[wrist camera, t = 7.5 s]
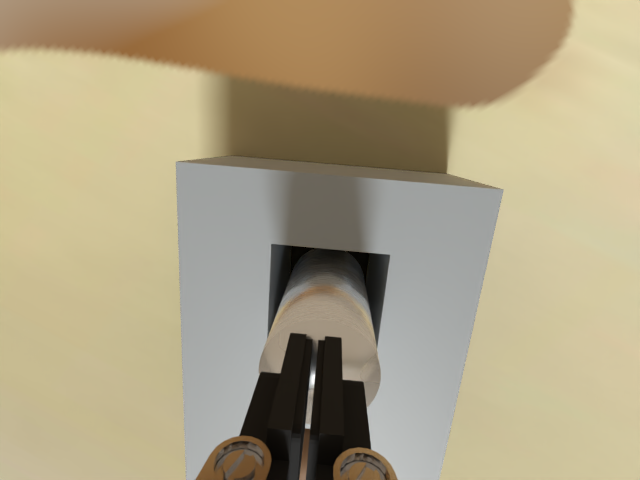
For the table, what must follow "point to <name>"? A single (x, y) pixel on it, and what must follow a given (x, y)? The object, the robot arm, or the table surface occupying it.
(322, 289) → the steel peg
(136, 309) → the table surface
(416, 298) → the socket board
